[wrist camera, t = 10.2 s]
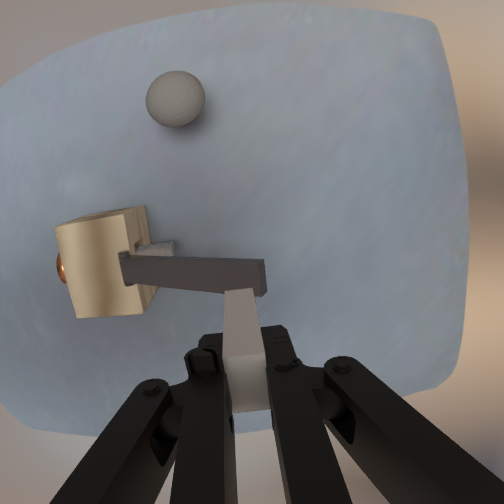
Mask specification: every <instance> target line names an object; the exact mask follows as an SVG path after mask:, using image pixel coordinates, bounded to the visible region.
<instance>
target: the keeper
mask: <svg viewBox="0 0 504 504" xmlns="http://www.w3.org/2000/svg"><path fill="white" fill-rule="evenodd" d="M118 258H119V263H120V268H121V272H122V277H123V281H124V286H126V287H128V286H132V285H134V284H143V285H151V286H159V287H167V288H176V289H185V290H194V291H204V292H214V293H224V294H225V291H229V290H238V289H246V288H253V293H254V296H256V297H262V296H263V295H264V294H265V293H266V292H267V285H266V275H265V265H264V259H235V258H204V257H176V256H148V255H129V251H121V252H118Z"/></svg>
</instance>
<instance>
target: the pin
mask: <svg viewBox="0 0 504 504" xmlns="http://www.w3.org/2000/svg"><path fill="white" fill-rule="evenodd" d="M135 252H136V255H148V256H176V249H175V245H174V242H173V241H171V242H163V243H155V244H148V245H141V246H135ZM57 271H58V275H59V277H60V279H61V281H62V282H63V283H65V284H67V281H66V277H65V273H64V269H63V265H62V261H61V257H60V252H59V254H58V257H57Z"/></svg>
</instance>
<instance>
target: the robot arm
mask: <svg viewBox="0 0 504 504" xmlns="http://www.w3.org/2000/svg"><path fill="white" fill-rule="evenodd" d="M184 359H185V363H186V367H187V371H188V375H189V376H188V380H186V381H185V382H183V383H180V384H177V385H173V386H169V385H168V383H167V382H166V381H165V380H162V379H149V380H145V381H143V382H141V383H140V384H139V385H138V386H136V388H135V389H134V390H133V392H132V393H131V394H130V396H129V397H128V398H127V400H126V401H125V402H124V404H123V405H122V406H121V408H120V409H119V410H118V412H117V413H116V414H115V416H114V417H113V418H112V420H111V421H110V422H109V424H108V425H107V426H106V428H105V429H104V430H103V432H102V433H101V434H100V436H99V437H98V438H97V440H96V441H95V442H94V444H93V445H92V446H91V448H90V449H89V450H88V452H87V453H86V454H85V456H84V457H83V458H82V460H81V461H80V463H79V464H78V465H77V467H76V468H75V469H74V471H73V472H72V473H71V475H70V476H69V477H68V479H67V480H66V482H65V483H64V484H63V486H62V487H61V488H60V490H59V491H58V492H57V494H56V495H55V496H54V498H53V499H52V501H51V502H50V504H154V503H155V501H156V499H157V497H158V495H159V493H160V490H161V488H162V486H163V484H164V481H165V480H166V478H167V476H168V474H169V472H170V469H171V468H172V465H173V463H174V461H175V466H174V473H173V481H172V488H171V496H170V504H238V498H237V481H236V480H237V479H236V458H235V434H234V420H233V415H232V410H233V413H239V412H249V411H257V410H265V409H271V417H272V427H273V430H274V435H275V440H276V446H277V452H278V458H279V463H280V470H281V475H282V481H283V487H284V492H285V498H286V503H287V504H352V501H351V498H350V495H349V492H348V489H347V486H346V484H345V481H344V478H343V475H342V472H341V469H340V467H339V464H338V461H337V458H336V455H335V453H334V450H333V447H332V444H331V441H330V439H329V436H328V433H327V430H326V427H325V424H326V426H327V427H328V428H329V430H330V431H331V432H332V433H333V435H334V436H335V437H336V439H337V440H338V441H339V442H340V443H341V445H342V446H343V447H344V449H345V450H346V451H347V452H348V454H349V455H350V456H351V457H352V459H353V460H354V461H355V462H356V463H357V465H358V466H359V467H360V468H361V470H362V471H363V472H364V473H365V474H366V476H367V477H368V478H369V479H370V480H371V482H372V483H373V484H374V485H375V486H376V487H377V489H378V490H379V491H380V492H381V493H382V495H383V496H384V497H385V498H386V499H387V501H388V502H389V503H390V504H504V482H503V481H502V480H500V479H499V478H498V477H497V476H495V475H494V474H493V473H492V472H490V471H489V470H488V469H487V468H486V467H484V466H483V465H482V464H481V463H479V462H478V461H477V460H475V458H473V457H472V456H471V455H470V454H468V453H467V452H466V451H465V450H463V449H462V448H461V447H460V446H459V445H458V444H456V443H455V442H454V441H453V440H451V439H450V438H449V437H448V436H447V435H445V434H444V433H443V432H442V431H440V430H439V429H438V428H437V427H436V426H435V425H433V424H432V423H431V422H430V421H429V420H427V419H426V418H425V417H424V416H423V415H421V414H420V413H419V412H418V411H417V410H415V409H414V408H413V407H412V406H411V405H409V404H408V403H407V402H406V401H405V400H403V399H402V398H401V397H400V396H399V395H398V394H396V393H395V392H394V391H393V390H392V389H390V388H389V387H388V386H387V385H386V384H385V383H383V382H382V381H381V380H380V379H379V378H377V377H376V376H375V375H374V374H373V373H372V372H370V371H369V370H368V369H367V368H366V367H364V366H363V365H362V364H361V363H360V362H359V361H357V360H356V359H354V358H352V357H347V356H338V357H334V358H331V359H329V360H328V361H327V362H326V363H325V364H324V368H322V367H309V366H306V365H304V364H303V363H302V362H301V360H300V359H299V358H297V357H296V354H295V351H294V348H293V345H292V342H291V339H290V337H289V334H288V331H287V329H286V328H284V327H283V326H282V325H276V326H268V327H261V328H260V324H259V319H258V314H257V309H256V304H255V298H254V293H253V288H246V289H238V290H229V291H225V295H224V322H223V333H215V334H205V335H204V336H203V337H202V338H201V339H200V340H199V344H198V348H195V349H192V350H190V351H189V352H188V353H186V355H185V356H184ZM323 421H324V422H323ZM324 423H325V424H324Z"/></svg>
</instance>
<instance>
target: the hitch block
mask: <svg viewBox="0 0 504 504" xmlns="http://www.w3.org/2000/svg"><path fill="white" fill-rule="evenodd" d="M55 233H56V238H57V243H58V247H59V252H60V257H61V261H62V265H63V269H64V273H65V277H66V281H67V285H68V289H69V293H70V296H71V300H72V303H73V307H74V310H75V313H76V316H77V318H93V317H108V316H121V315H134V314H144V312H145V311H146V309H147V307H148V305H149V303H150V302H151V300H152V298H153V296H154V295H155V293H156V291H157V289H158V288H159V286H151V285H143V284H134V285H132V286H128V287H126V286H124V281H123V277H122V272H121V268H120V263H119V258H118V252H121V251H129V255H136V252H135V246H141V245H148V244H151V239H150V234H149V228H148V221H147V215H146V208H145V205H143V206H137V207H131V208H125V209H119V210H113V211H108V212H102V213H97V214H91V215H86V216H83V217H80V218H77V219H75V220H72V221H69V222H66V223H64V224H61V225H58V226H56V227H55Z"/></svg>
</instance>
